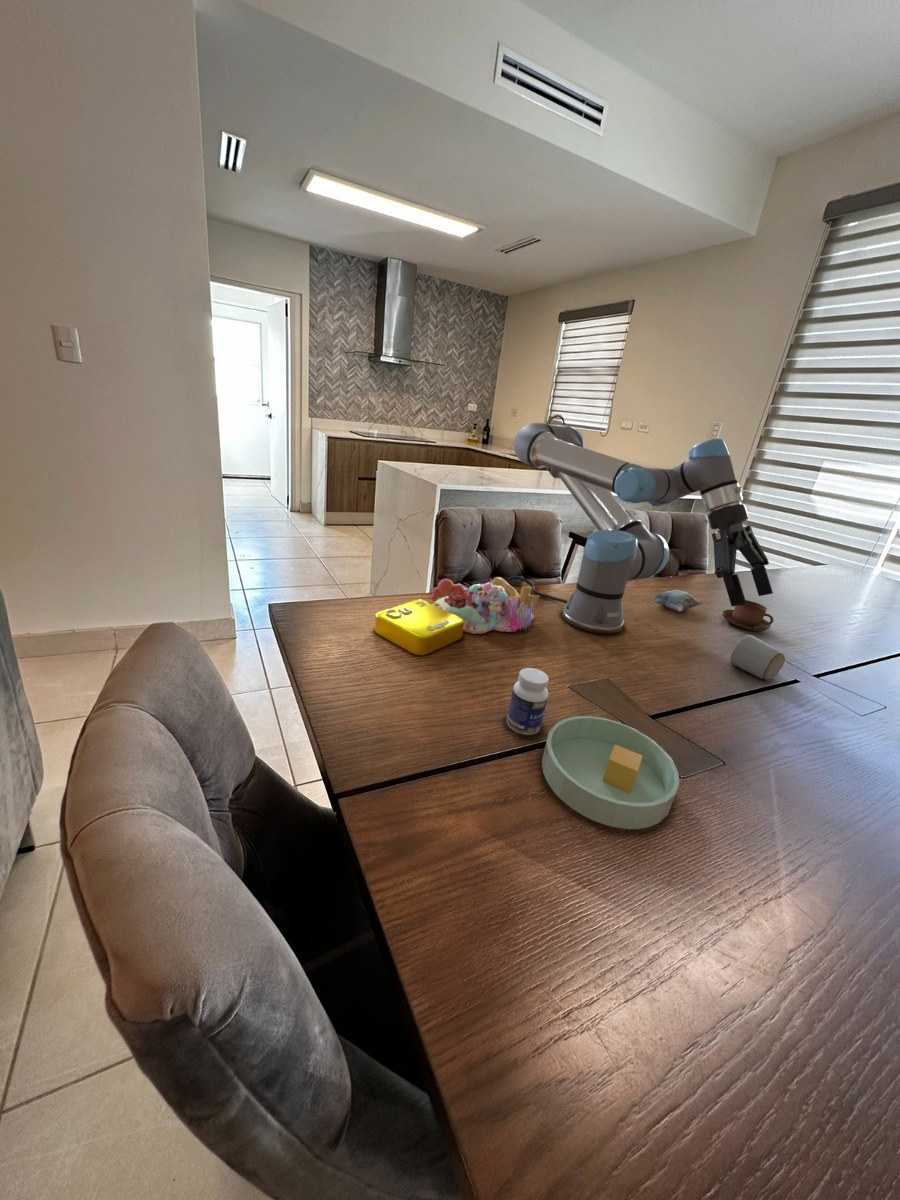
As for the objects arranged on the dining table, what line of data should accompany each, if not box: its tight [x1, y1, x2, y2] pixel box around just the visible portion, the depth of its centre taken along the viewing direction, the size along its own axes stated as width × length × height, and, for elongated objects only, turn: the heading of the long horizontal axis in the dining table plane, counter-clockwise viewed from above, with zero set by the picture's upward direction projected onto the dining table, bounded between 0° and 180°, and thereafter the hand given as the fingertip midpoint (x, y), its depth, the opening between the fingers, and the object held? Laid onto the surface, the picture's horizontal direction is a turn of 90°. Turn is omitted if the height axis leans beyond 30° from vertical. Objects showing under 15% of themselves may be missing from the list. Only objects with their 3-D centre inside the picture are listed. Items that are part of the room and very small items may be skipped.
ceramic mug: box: [730, 634, 786, 681], centre depth 105 cm, size 11×8×8 cm
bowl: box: [541, 715, 680, 830], centre depth 68 cm, size 18×18×4 cm
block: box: [602, 744, 643, 793], centre depth 68 cm, size 4×4×4 cm
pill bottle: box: [506, 667, 550, 736], centre depth 77 cm, size 6×6×10 cm
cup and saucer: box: [722, 599, 774, 632], centre depth 131 cm, size 12×12×6 cm
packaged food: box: [654, 589, 703, 613], centre depth 138 cm, size 9×12×5 cm
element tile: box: [374, 599, 464, 656], centre depth 104 cm, size 15×15×5 cm
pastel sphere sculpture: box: [430, 576, 540, 635], centre depth 117 cm, size 25×24×9 cm
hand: (752, 599), depth 104 cm, fingers open, 13 cm apart
